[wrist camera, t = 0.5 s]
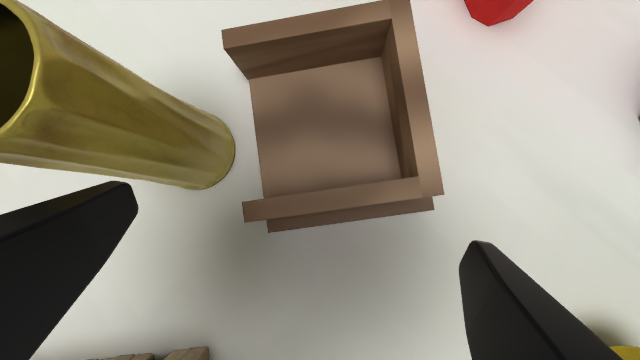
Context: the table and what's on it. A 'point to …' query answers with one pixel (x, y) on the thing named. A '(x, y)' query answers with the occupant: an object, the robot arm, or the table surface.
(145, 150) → the vase
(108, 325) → the table surface
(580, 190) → the table surface
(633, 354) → the lemon
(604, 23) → the table surface
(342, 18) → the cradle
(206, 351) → the block tower
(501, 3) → the french fries
